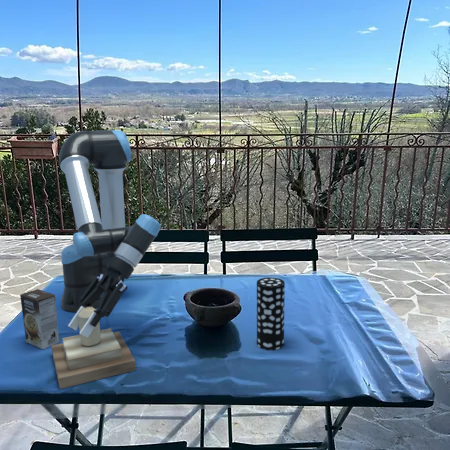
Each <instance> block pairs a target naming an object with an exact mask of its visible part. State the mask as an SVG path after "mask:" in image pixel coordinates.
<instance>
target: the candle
mask: <svg viewBox="0 0 450 450" xmlns="http://www.w3.org/2000/svg"><path fill="white" fill-rule="evenodd" d="M94 310H97V308H93V307H87V308H83V309H82V310H81V312H80V313H79V314H78V319H79V327H78V329H79V332H80V331H81V330H82V328H83V327H84V325H85V324H86V322H87V321H88V319H89V318H90V316H91V314H92V313H93V312H94ZM94 313H95V312H94ZM100 324H101V323H100V321H99V322H98V324H97V326H96V327H94V329H93V331H92V332H91V334H90V335H89V337H88V338H87V337H85V336H83V335H82V334H80V333H79V335H80V340H81V344H82V345H85V346H91V345H95V344H98V343H99V342H100V341H101V335H100V330H101V325H100Z"/></svg>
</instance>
